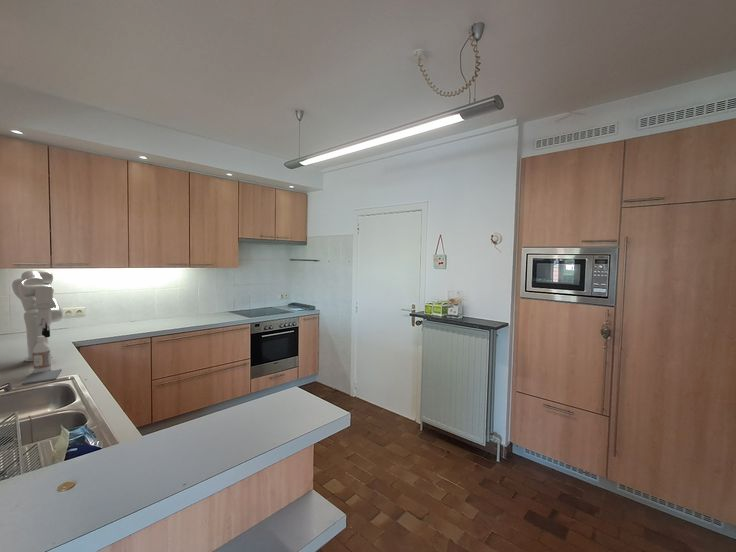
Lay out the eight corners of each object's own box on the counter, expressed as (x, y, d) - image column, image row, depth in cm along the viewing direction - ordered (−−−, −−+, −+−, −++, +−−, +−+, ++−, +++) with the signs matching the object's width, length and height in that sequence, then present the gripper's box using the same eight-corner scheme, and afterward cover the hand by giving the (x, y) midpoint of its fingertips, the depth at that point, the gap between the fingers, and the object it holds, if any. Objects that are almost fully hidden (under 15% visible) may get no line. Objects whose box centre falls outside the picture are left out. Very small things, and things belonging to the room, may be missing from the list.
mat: (30, 374, 182) (30, 373, 182) (61, 370, 189) (61, 369, 189) (21, 384, 168) (21, 383, 168) (55, 379, 175) (55, 378, 175)
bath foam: (30, 373, 184) (28, 337, 183) (39, 369, 191) (38, 335, 190) (45, 372, 186) (43, 337, 184) (54, 368, 192) (52, 334, 191)
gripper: (38, 305, 201) (40, 335, 202) (32, 308, 189) (34, 340, 189) (55, 304, 205) (57, 334, 206) (50, 307, 193) (52, 338, 194)
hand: (46, 337), depth 198 cm, fingers closed
